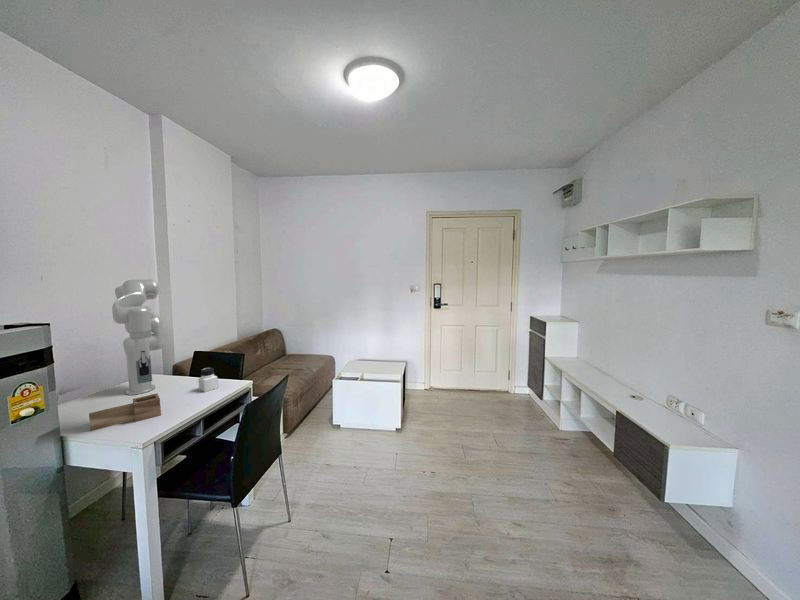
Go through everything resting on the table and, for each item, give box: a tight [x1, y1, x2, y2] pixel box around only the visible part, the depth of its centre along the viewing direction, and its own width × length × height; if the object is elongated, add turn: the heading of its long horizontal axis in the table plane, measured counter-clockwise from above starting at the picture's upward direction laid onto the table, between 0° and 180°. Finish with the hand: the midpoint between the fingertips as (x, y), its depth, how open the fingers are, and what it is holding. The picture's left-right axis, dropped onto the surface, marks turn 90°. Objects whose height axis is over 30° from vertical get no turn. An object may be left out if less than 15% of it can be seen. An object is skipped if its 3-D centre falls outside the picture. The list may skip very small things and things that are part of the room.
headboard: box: [88, 392, 162, 432], centre depth 134 cm, size 9×23×8 cm, turn 134°
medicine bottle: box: [198, 367, 219, 393], centre depth 170 cm, size 7×7×12 cm
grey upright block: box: [136, 354, 153, 384], centre depth 137 cm, size 3×5×12 cm, turn 134°
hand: (144, 373), depth 137 cm, fingers closed on grey upright block, 3 cm apart
